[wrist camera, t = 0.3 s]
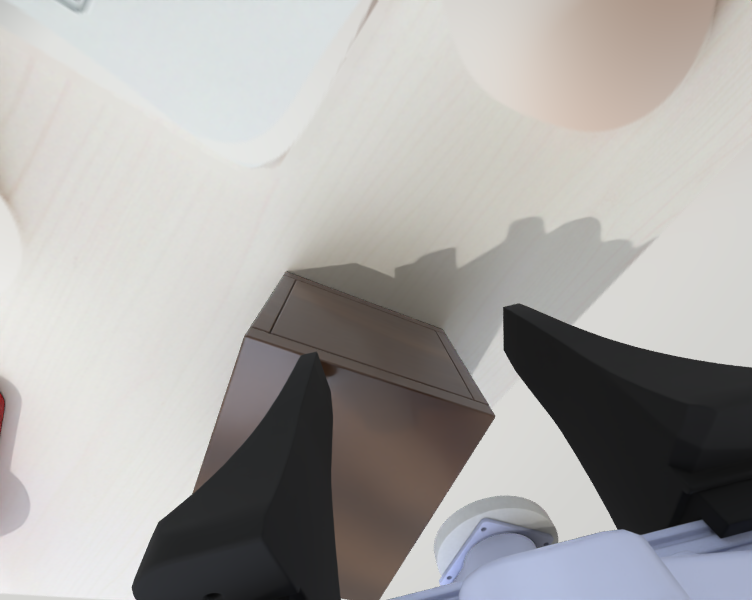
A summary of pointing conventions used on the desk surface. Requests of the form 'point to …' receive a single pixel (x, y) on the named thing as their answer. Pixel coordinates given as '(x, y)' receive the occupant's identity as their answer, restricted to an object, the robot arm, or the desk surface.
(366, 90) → the desk surface
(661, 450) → the robot arm
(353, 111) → the desk surface
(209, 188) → the desk surface
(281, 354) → the cabinet
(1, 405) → the lever
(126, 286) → the desk surface
